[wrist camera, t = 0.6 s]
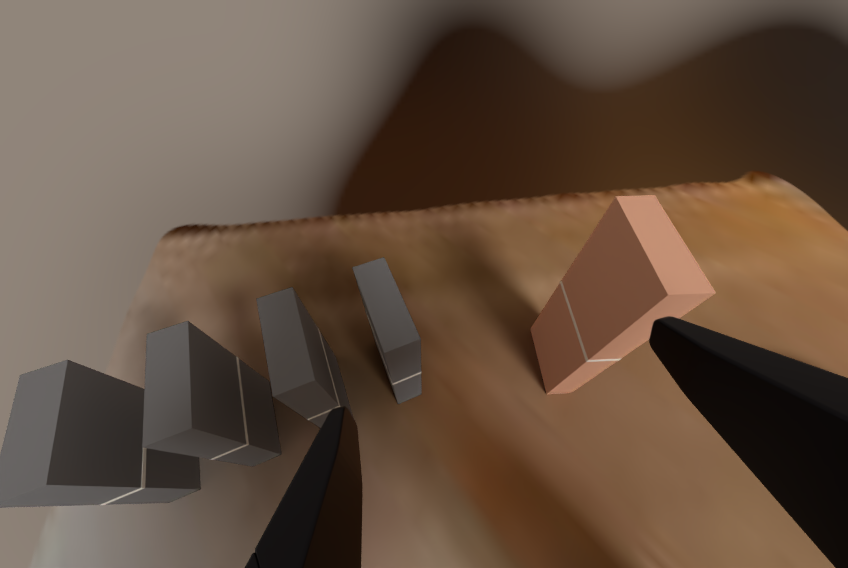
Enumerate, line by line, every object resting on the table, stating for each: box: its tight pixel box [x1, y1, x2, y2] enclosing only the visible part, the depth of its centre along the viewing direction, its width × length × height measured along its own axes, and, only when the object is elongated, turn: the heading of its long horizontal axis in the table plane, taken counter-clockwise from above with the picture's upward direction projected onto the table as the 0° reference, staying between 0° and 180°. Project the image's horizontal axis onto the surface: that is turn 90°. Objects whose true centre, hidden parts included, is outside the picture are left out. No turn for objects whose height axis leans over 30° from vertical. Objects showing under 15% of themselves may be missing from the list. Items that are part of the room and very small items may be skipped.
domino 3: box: [256, 287, 353, 428], centre depth 20 cm, size 5×2×10 cm, turn 23°
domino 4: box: [352, 257, 422, 404], centre depth 21 cm, size 5×2×10 cm, turn 23°
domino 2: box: [142, 321, 281, 466], centre depth 18 cm, size 5×2×10 cm, turn 23°
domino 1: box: [0, 360, 200, 508], centre depth 17 cm, size 5×2×10 cm, turn 23°
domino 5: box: [530, 195, 716, 394], centre depth 19 cm, size 5×2×14 cm, turn 3°
